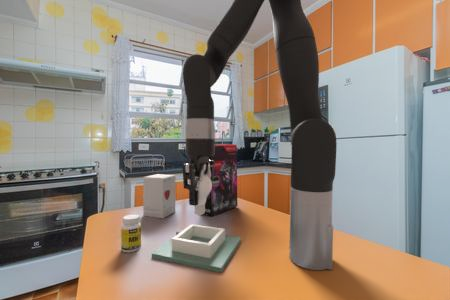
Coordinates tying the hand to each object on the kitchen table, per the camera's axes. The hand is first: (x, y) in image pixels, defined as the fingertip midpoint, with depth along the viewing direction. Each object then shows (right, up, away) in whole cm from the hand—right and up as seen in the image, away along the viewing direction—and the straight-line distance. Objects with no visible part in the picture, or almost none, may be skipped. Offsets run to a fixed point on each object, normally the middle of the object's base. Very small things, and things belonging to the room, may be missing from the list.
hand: (199, 201), depth 57 cm
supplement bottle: (-18, -13, 0) cm, 22 cm away
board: (0, -13, 0) cm, 13 cm away
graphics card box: (+4, -12, +33) cm, 35 cm away
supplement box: (-19, -12, +28) cm, 36 cm away
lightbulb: (0, -4, 0) cm, 4 cm away
